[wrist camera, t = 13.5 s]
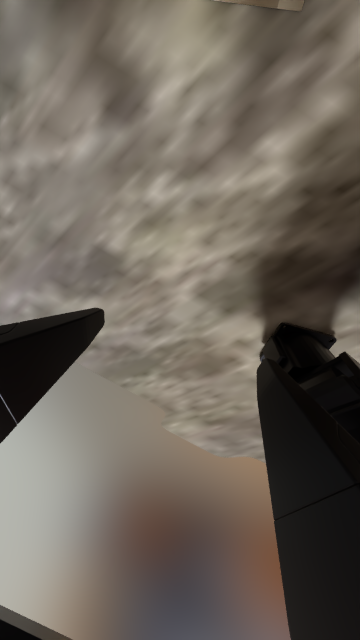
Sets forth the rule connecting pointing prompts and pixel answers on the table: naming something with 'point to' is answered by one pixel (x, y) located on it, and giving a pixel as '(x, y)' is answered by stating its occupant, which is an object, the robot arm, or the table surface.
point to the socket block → (271, 3)
